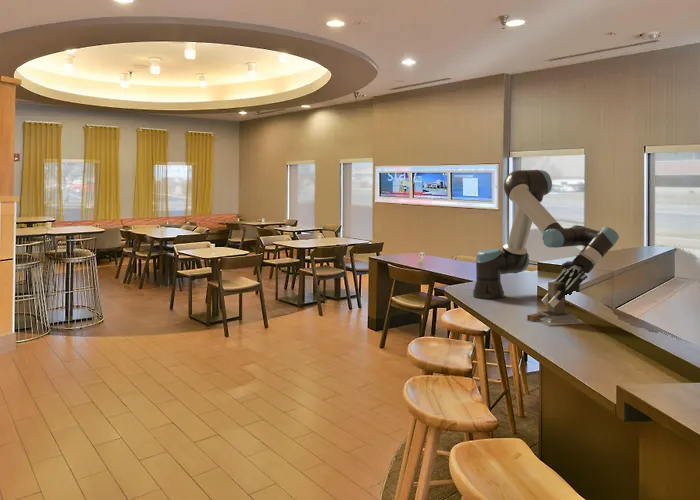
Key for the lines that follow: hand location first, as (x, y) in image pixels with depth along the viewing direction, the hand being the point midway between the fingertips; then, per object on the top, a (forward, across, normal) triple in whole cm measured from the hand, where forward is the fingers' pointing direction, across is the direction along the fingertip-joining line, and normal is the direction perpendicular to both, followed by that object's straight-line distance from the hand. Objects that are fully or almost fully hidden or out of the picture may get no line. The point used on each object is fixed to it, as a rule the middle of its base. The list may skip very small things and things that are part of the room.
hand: (547, 303), depth 200 cm
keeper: (+2, 0, -8) cm, 8 cm away
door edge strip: (+4, +6, -6) cm, 9 cm away
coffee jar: (-16, +32, -26) cm, 44 cm away
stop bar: (0, 0, -5) cm, 5 cm away
